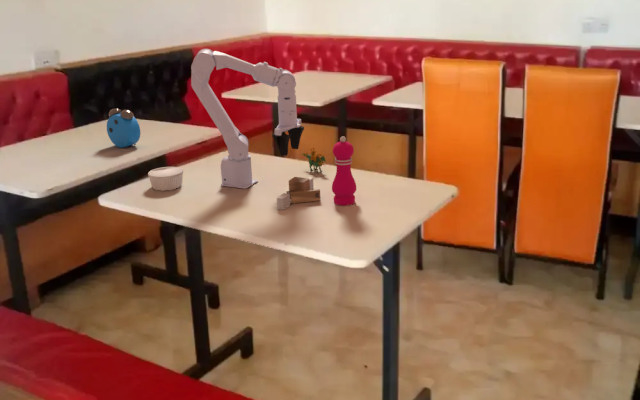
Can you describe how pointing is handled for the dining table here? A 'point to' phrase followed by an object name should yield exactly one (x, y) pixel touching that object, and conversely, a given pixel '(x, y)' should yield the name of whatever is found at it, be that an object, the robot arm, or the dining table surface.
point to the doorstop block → (299, 184)
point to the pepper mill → (343, 174)
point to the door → (305, 196)
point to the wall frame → (288, 198)
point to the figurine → (315, 159)
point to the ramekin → (166, 178)
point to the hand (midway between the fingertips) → (289, 151)
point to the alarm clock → (123, 128)
